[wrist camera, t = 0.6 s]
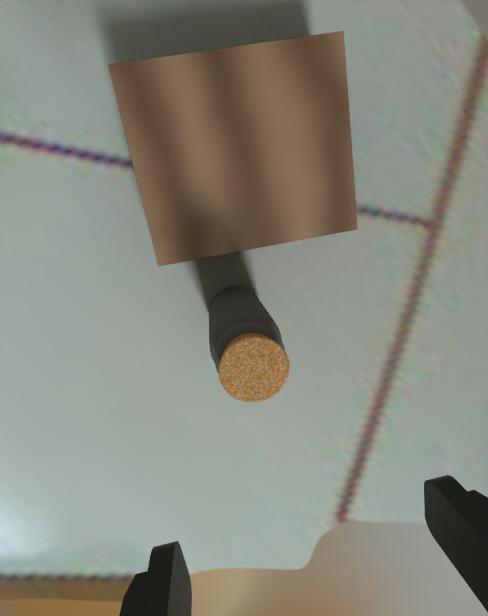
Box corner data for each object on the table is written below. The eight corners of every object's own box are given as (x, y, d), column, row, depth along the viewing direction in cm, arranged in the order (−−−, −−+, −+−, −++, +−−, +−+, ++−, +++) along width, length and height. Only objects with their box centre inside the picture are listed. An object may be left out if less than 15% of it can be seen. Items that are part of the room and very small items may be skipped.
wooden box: (316, 70, 29) (343, 31, 23) (331, 229, 33) (357, 229, 27) (128, 98, 28) (107, 64, 22) (167, 259, 32) (158, 266, 26)
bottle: (204, 290, 33) (202, 337, 19) (257, 281, 34) (293, 320, 19) (214, 340, 35) (217, 418, 20) (264, 331, 35) (302, 401, 21)
